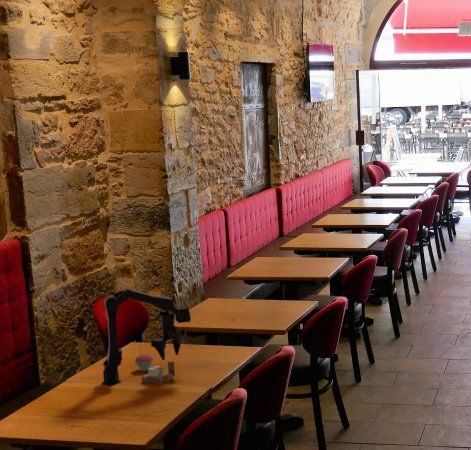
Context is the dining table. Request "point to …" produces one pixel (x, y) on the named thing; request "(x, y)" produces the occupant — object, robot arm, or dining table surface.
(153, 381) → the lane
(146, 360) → the cupcake
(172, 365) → the block with cord
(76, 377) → the dining table surface
